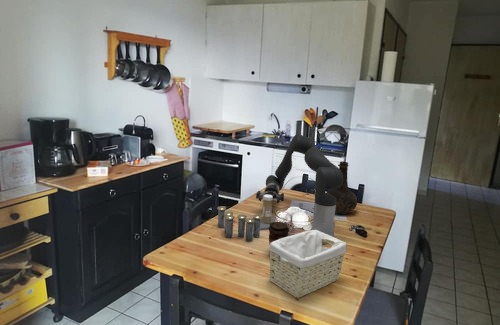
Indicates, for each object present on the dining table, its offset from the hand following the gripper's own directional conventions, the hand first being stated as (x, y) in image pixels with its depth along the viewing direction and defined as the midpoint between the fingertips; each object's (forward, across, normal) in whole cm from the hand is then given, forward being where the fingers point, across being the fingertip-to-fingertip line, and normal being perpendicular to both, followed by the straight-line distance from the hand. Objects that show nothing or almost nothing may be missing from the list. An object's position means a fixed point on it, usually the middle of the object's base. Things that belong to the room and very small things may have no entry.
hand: (268, 200), depth 184 cm
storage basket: (+55, +19, +10) cm, 59 cm away
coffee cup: (+38, +8, +10) cm, 40 cm away
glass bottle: (-23, +37, +10) cm, 45 cm away
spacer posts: (+21, -11, +10) cm, 26 cm away
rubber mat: (+7, 0, +10) cm, 12 cm away
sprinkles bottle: (+7, 0, +9) cm, 11 cm away
